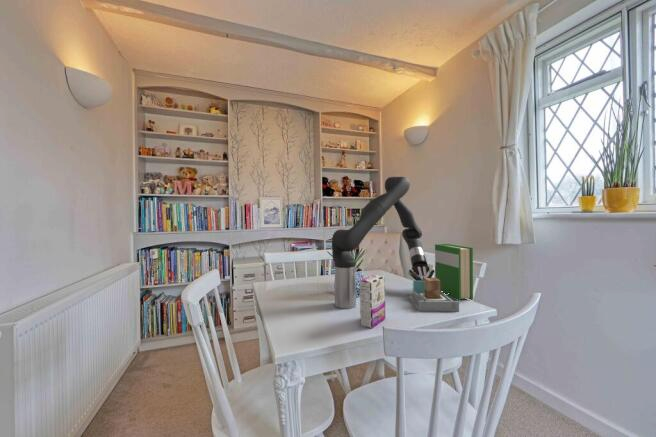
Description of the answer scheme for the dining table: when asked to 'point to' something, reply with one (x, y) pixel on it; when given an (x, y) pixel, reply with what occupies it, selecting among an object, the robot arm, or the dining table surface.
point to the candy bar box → (372, 300)
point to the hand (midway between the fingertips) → (425, 288)
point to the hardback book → (454, 270)
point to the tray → (420, 289)
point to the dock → (434, 303)
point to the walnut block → (432, 288)
